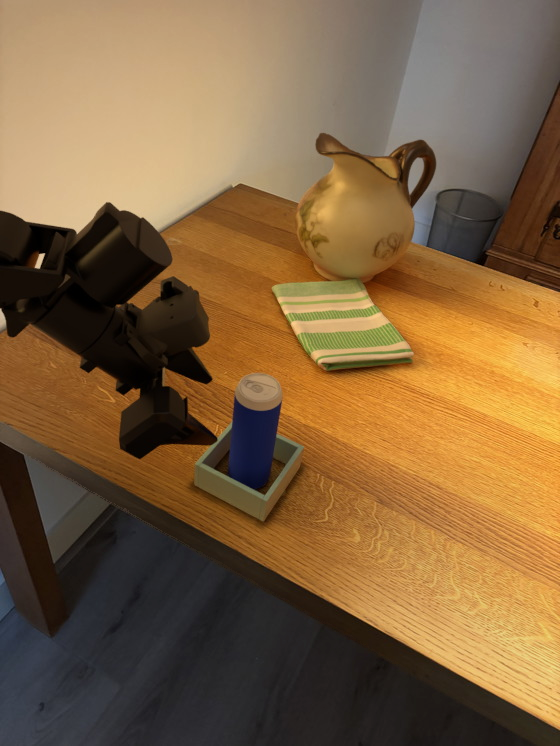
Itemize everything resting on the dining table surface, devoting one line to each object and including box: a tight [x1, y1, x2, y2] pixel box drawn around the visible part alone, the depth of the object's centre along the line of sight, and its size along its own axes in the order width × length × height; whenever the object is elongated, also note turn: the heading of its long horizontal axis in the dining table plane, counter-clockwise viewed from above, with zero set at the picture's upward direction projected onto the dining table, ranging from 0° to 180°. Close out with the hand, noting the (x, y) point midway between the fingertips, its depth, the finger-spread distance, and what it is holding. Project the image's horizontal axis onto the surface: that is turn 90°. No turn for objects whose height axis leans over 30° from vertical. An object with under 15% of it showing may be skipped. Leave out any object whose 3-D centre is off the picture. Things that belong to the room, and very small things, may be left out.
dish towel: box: [271, 278, 415, 372], centre depth 93 cm, size 18×23×3 cm
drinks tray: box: [193, 421, 305, 523], centre depth 66 cm, size 10×10×4 cm
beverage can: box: [227, 372, 284, 491], centre depth 63 cm, size 5×5×15 cm
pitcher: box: [294, 132, 437, 284], centre depth 102 cm, size 22×24×25 cm
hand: (212, 410), depth 59 cm, fingers open, 9 cm apart
